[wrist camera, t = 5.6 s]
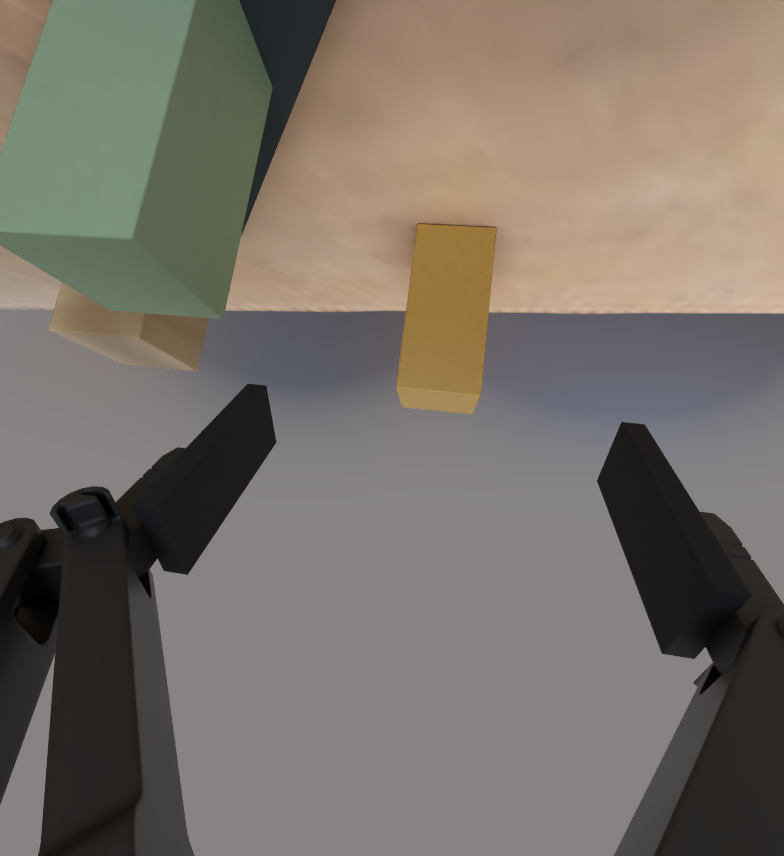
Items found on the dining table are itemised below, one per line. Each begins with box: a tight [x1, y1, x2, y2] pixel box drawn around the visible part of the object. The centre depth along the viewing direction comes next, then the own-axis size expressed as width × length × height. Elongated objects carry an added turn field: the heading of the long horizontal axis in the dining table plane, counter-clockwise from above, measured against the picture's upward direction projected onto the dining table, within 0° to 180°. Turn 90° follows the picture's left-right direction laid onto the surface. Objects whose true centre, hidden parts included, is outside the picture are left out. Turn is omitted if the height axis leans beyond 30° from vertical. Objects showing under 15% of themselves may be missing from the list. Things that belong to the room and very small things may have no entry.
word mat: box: [239, 0, 336, 235], centre depth 16 cm, size 28×9×1 cm, turn 149°
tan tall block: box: [49, 282, 209, 371], centre depth 23 cm, size 5×5×11 cm
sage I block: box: [0, 0, 273, 319], centre depth 15 cm, size 5×5×11 cm
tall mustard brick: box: [396, 224, 496, 414], centre depth 27 cm, size 5×5×11 cm
